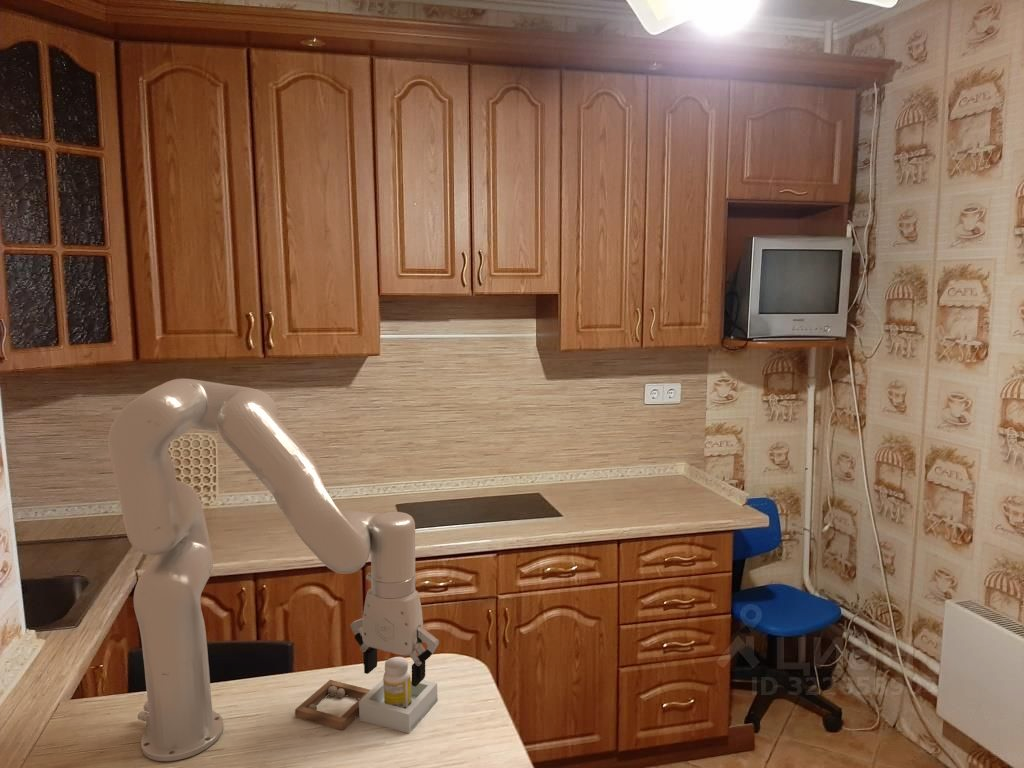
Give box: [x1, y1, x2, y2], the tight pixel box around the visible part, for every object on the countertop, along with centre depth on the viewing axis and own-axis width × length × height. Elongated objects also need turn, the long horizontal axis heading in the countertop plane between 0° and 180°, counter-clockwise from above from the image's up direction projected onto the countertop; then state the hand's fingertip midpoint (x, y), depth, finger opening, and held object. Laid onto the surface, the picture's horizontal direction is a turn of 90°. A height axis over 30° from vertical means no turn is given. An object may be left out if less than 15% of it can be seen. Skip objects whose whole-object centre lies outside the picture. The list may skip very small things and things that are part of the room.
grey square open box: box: [358, 676, 439, 734], centre depth 126 cm, size 10×10×4 cm
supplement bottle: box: [382, 656, 412, 709], centre depth 126 cm, size 5×5×8 cm
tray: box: [294, 679, 371, 731], centre depth 127 cm, size 10×10×2 cm
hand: (394, 676), depth 125 cm, fingers open, 9 cm apart
